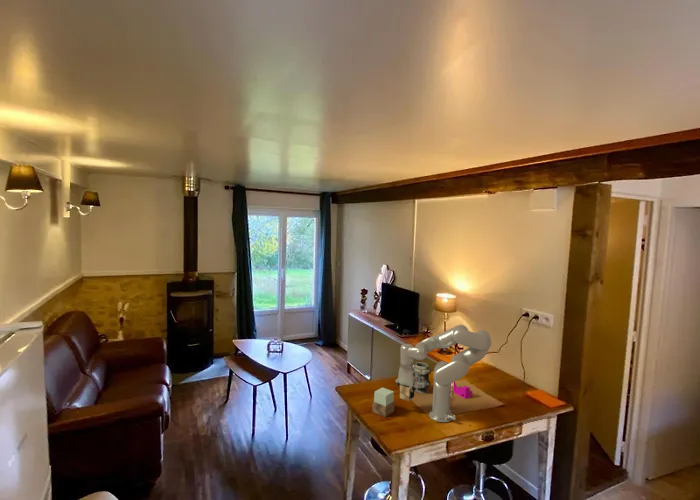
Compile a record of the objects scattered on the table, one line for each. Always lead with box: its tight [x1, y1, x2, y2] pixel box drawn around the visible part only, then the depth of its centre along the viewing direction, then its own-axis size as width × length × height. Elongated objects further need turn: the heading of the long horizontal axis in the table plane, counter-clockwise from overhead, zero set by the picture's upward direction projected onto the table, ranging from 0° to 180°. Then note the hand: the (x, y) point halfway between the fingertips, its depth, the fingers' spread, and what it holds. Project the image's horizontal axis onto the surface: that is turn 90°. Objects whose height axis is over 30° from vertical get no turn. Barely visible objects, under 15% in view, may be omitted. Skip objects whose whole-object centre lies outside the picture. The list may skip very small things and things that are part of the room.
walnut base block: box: [371, 400, 395, 418], centre depth 215 cm, size 9×9×6 cm
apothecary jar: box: [414, 362, 432, 394], centre depth 244 cm, size 12×12×18 cm
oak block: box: [399, 385, 415, 402], centre depth 217 cm, size 6×6×7 cm
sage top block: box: [373, 387, 395, 406], centre depth 215 cm, size 8×8×6 cm
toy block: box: [453, 381, 473, 400], centre depth 242 cm, size 15×6×8 cm, turn 30°
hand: (407, 395), depth 217 cm, fingers closed on oak block, 6 cm apart
